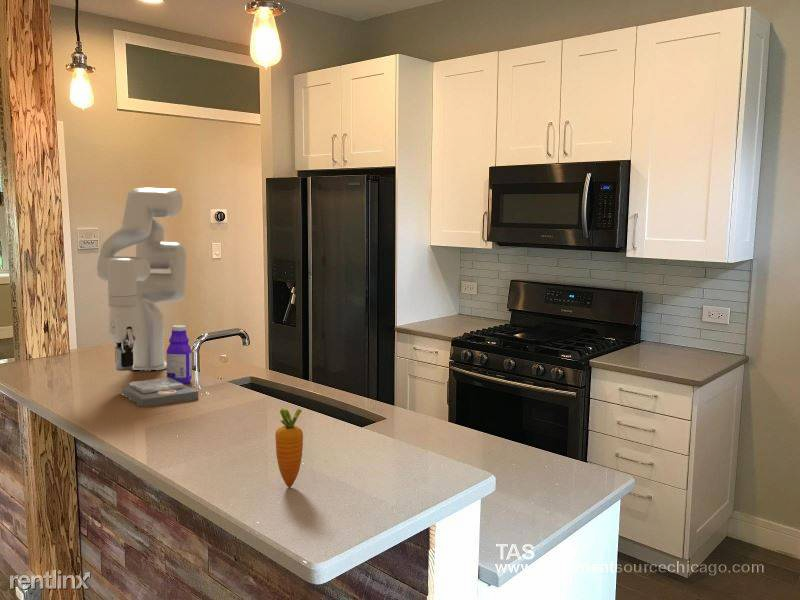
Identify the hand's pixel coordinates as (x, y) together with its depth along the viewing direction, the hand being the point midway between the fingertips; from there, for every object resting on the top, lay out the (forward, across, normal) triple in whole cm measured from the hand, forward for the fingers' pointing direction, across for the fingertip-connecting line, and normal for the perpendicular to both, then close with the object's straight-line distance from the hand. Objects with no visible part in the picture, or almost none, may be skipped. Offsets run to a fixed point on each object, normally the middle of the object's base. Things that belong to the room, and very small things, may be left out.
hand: (124, 364), depth 192 cm
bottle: (+8, 0, +16) cm, 18 cm away
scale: (+8, +13, +5) cm, 16 cm away
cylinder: (+1, 0, 0) cm, 1 cm away
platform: (+5, +11, +5) cm, 13 cm away
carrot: (+9, +92, 0) cm, 92 cm away
